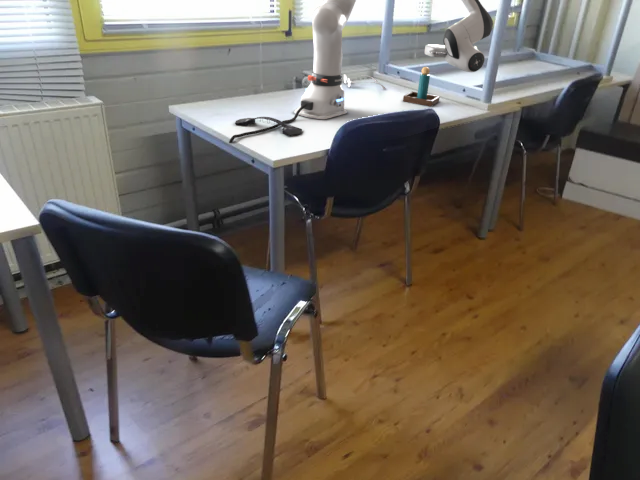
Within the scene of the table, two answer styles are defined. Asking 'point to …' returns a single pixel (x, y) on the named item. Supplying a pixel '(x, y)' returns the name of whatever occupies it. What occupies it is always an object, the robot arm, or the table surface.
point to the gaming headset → (286, 129)
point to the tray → (413, 98)
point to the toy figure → (423, 83)
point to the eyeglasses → (353, 81)
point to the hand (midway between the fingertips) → (441, 47)
